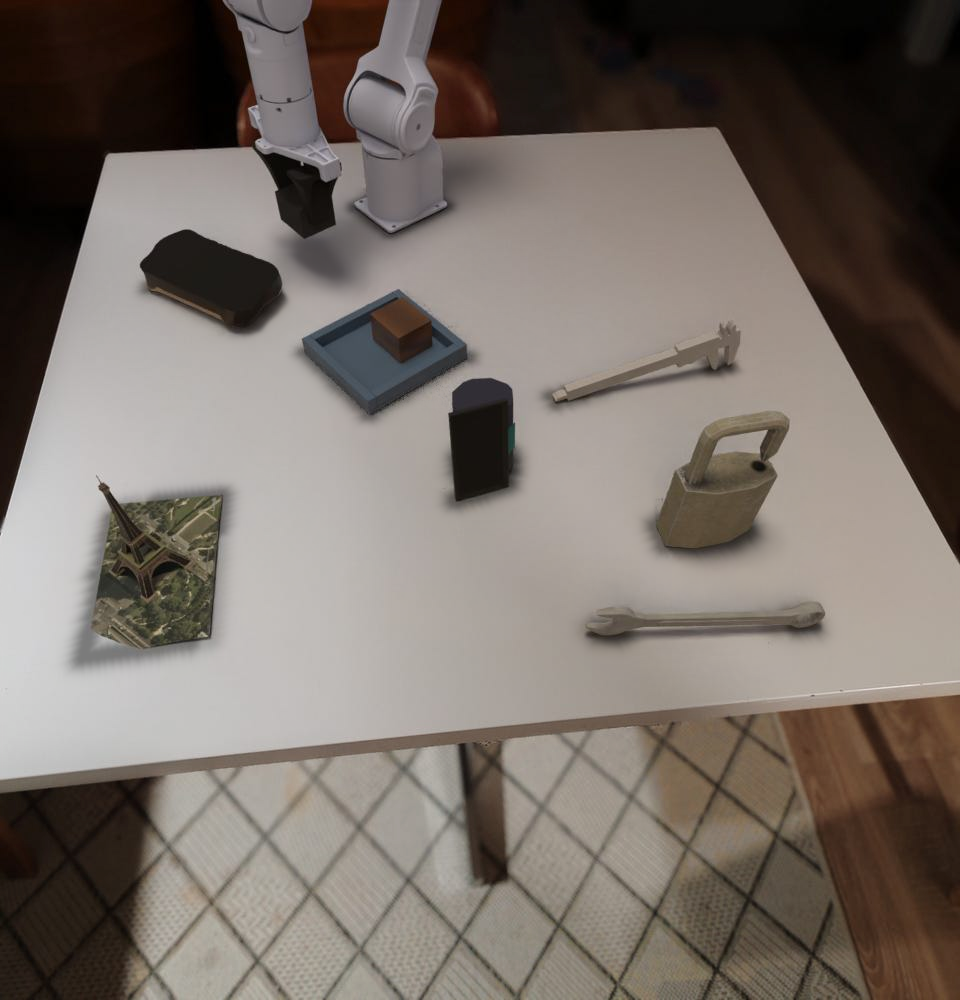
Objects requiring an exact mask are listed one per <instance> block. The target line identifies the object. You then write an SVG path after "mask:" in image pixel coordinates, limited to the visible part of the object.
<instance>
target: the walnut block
mask: <svg viewBox="0 0 960 1000" xmlns="http://www.w3.org/2000/svg"><path fill="white" fill-rule="evenodd" d="M370 318H371V327H372V335H373V340H374V341H375V342H377V343H378V344H379V345H380V346H381V347H382V348H383V349H385V350H386V351H387V352H388V353H389V354H390V355H391V356H392V357H394V358H395V359H396V360H397V361H398V362H399V363H400V364H401V363H403V362H405V361H406V360H408V359H410V358H412V357H414V356H415V355H417V354H419V353H421V352H422V351H424V350H426V349H428V348H430V347H431V346H433V344H432V320H431V319H429V318H428V317H427V316H426V315H425V314H423V313H422V312H421V311H420V310H418V309H417V308H416V307H415V306H413V305H412V304H411V303H410V302H409V301H407V300H406V299H405V298H404V297H401V298H399V299H397V300H395V301H394V302H392V303H390V304H388V305H386V306H384V307H382V308H380V309H378V310H376V311H374V312H372V313H370Z"/></svg>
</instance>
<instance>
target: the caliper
mask: <svg viewBox="0 0 960 1000" xmlns="http://www.w3.org/2000/svg"><path fill="white" fill-rule="evenodd" d="M718 325H719V327H718V328H719V330H718V331H717V332H716V331H715V330H713V331H710V332H707V333H704V334H702V335H699V336H696V337H693V338H690V339H687V340H685V341H681V342H678V343H676V344H674V346H673V347H672V348H669V349H667V350H664V351H661V352H657V353H655V354H652V355H649V356H646V357H643V358H639V359H637V360H633V361H631V362H628V363H625V364H623V365H619V366H617V367H613V368H611V369H607V370H605V371H601V372H599V373H596V374H593V375H590V376H586V377H585V378H581V379H578V380H575V381H572V382H570V383H567V384H564V385H563V388H561V389H558V390H556V391H554V392H553V393H551V395H552V398H553V399H554V401H555V402H561V401H563V400H566V399H567V401H573V400H575V399H578V398H581V397H584V396H587V395H590V394H592V393H595V392H598V391H601V390H604V389H607V388H609V387H613V386H615V385H618V384H621V383H625V382H627V381H630V380H633V379H636V378H638V377H641V376H645V375H648V374H651V373H654V372H656V371H659V370H662V369H665V368H669V367H671V366H675V365H676V367H677V368H678V369H681V368H683V367H684V366H686V365H687V366H688V365H692V364H694V363H695V362H697V361H699V360H701V359H702V358H704V357H705V358H706V360H707V362H708V364H709V366H710V367H711V369H712V370H714V371H715V370H717V369H718V364H719V356H720V355H719V354H720V353H719V350H721V349H723V361H724V362H725V364H726V365H727V366H730V365H731V364H733V363H734V361H735V358H736V355H737V352H738V350H739V347H740V344H741V333H742V332H741V331H742V330H741V329H740V328H739V326H738V324H737V323H736V322H735V320H734V319H733V318H732V317H731V318H730V319H729V320H728V321H727V323H726V325H724V323H723V322H722V321H720V322H719V324H718Z"/></svg>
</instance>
